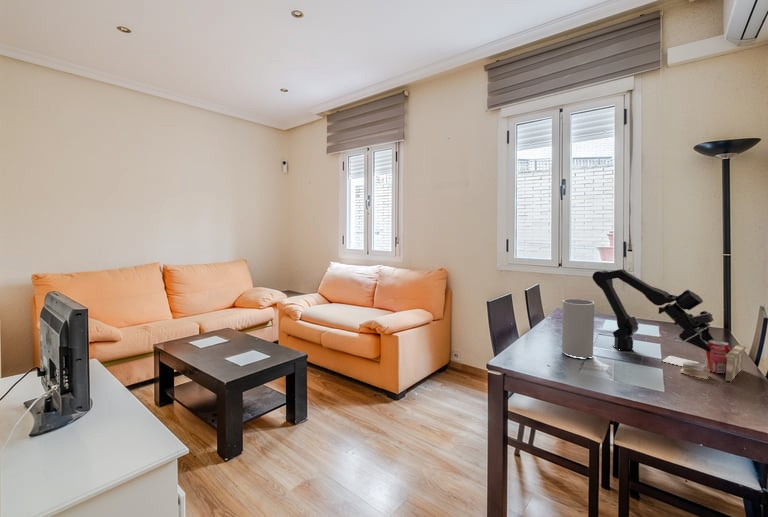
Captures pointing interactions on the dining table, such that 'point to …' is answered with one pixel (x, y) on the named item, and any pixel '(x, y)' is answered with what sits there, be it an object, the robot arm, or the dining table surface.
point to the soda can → (717, 356)
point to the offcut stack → (695, 369)
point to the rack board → (734, 362)
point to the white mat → (676, 360)
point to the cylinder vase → (578, 327)
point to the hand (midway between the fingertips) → (713, 348)
